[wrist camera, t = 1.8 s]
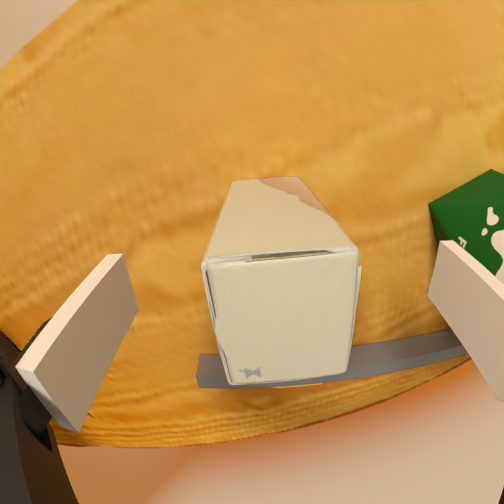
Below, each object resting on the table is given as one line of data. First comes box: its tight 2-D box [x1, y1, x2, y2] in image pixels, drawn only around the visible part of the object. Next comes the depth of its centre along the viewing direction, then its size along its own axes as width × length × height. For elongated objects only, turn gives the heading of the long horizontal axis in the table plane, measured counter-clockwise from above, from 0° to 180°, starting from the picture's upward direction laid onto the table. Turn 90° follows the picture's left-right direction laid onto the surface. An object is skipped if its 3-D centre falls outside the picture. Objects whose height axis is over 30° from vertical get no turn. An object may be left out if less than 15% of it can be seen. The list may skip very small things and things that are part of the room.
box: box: [201, 176, 359, 385], centre depth 13 cm, size 5×4×11 cm
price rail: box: [196, 329, 468, 388], centre depth 23 cm, size 26×2×2 cm, turn 93°
